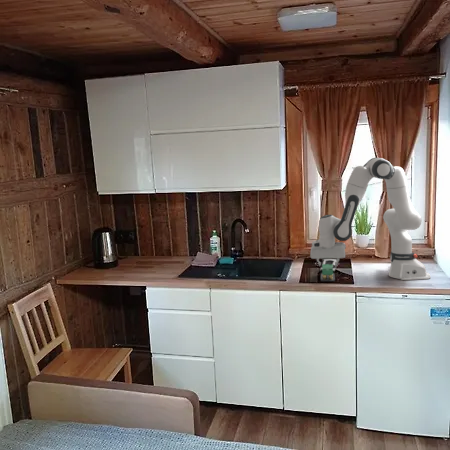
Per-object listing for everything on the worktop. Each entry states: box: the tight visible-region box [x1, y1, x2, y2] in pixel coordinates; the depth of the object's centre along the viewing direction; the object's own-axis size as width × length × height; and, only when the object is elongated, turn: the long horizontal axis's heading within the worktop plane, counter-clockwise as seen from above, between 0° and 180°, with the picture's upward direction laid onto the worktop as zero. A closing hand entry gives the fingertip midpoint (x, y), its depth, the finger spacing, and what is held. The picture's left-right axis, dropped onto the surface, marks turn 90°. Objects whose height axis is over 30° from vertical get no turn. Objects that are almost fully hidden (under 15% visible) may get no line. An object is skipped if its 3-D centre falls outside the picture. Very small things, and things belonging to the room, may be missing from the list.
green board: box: [321, 263, 333, 275], centre depth 273 cm, size 6×14×2 cm, turn 168°
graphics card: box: [319, 258, 337, 274], centre depth 296 cm, size 10×3×25 cm
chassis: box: [320, 272, 336, 282], centre depth 273 cm, size 8×13×5 cm, turn 168°
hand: (328, 265), depth 272 cm, fingers open, 8 cm apart
